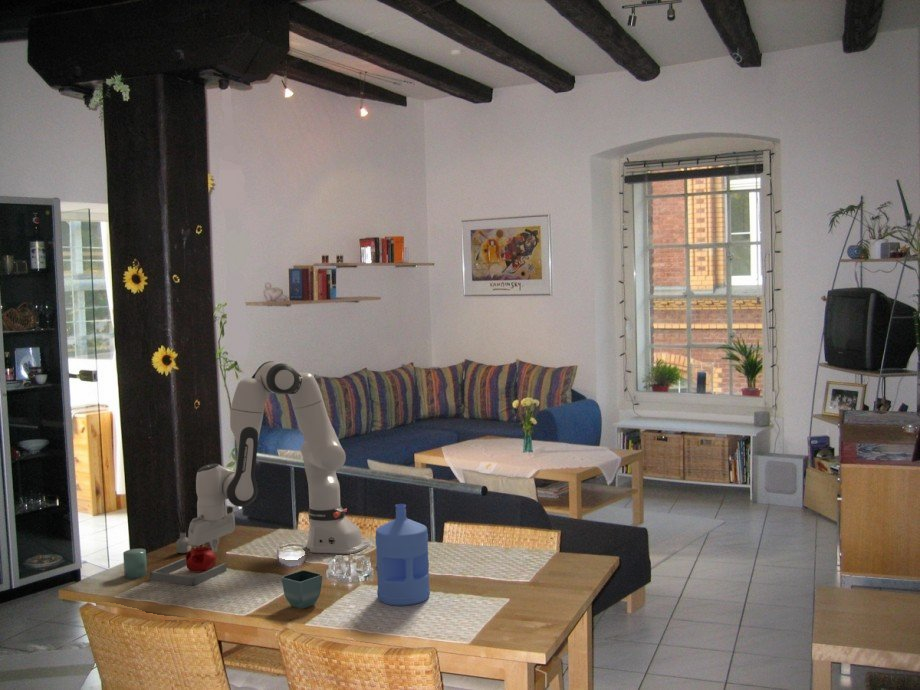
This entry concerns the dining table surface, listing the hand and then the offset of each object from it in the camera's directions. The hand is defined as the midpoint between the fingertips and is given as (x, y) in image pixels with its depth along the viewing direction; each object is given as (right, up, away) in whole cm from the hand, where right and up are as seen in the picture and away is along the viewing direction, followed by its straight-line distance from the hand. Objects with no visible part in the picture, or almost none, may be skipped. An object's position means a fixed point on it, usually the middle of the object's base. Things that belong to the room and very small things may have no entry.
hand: (212, 552), depth 310 cm
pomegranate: (-3, -5, -5) cm, 8 cm away
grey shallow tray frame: (-4, -5, -10) cm, 12 cm away
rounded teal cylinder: (-23, -6, -10) cm, 25 cm away
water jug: (+67, -5, -38) cm, 78 cm away
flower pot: (+38, -6, -42) cm, 57 cm away
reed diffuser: (-15, -4, +15) cm, 22 cm away
